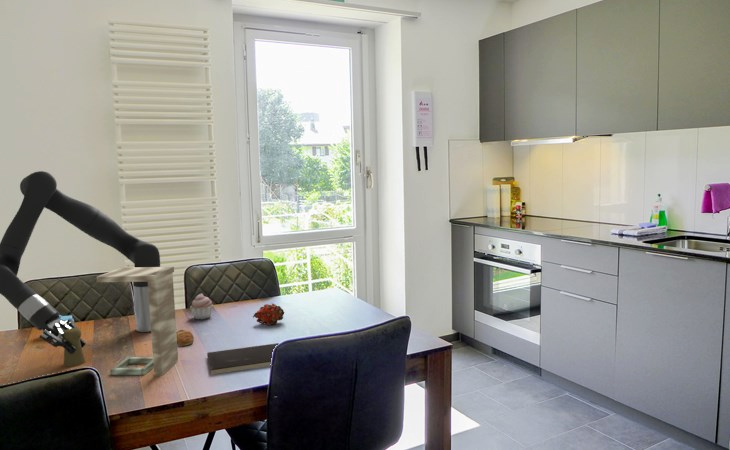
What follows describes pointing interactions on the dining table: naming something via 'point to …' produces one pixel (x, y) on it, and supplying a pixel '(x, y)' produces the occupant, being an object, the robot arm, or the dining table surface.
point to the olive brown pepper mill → (74, 339)
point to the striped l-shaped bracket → (152, 318)
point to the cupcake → (201, 307)
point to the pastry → (184, 337)
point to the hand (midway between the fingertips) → (78, 348)
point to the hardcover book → (240, 358)
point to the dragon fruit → (269, 314)
